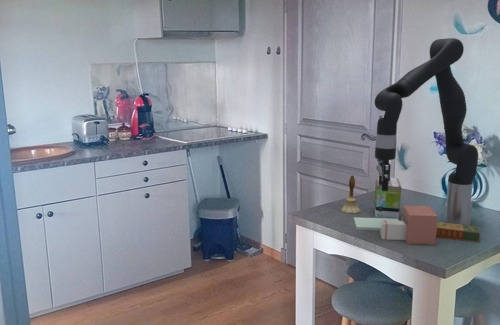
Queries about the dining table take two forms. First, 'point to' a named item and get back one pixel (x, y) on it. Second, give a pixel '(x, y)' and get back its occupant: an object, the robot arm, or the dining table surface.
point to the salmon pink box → (420, 224)
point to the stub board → (370, 223)
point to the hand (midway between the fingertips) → (383, 187)
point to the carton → (457, 232)
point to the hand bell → (351, 200)
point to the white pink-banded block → (393, 230)
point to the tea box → (387, 199)
